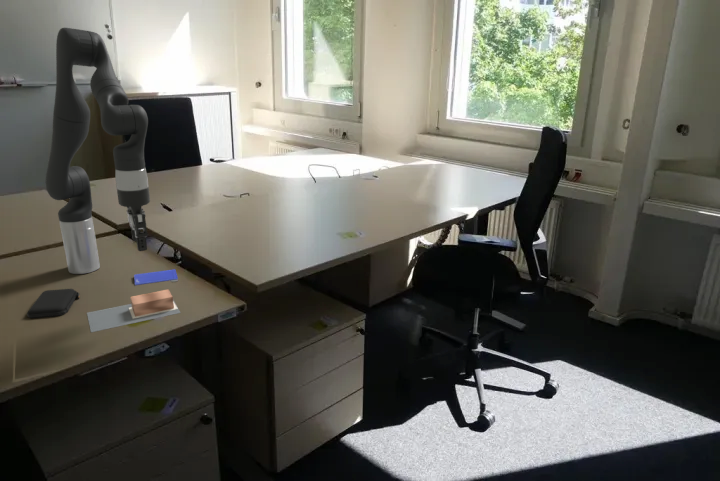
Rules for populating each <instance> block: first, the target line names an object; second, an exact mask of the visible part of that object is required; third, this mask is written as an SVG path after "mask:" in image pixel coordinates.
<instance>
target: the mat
mask: <svg viewBox="0 0 720 481" xmlns="http://www.w3.org/2000/svg"><path fill="white" fill-rule="evenodd" d="M173 304H174V308H173V309H169V310H164V311H159V312H155V313H150V314H145V315H140V316H136V317H135V315H134V312H133V309H132V304H131V303H130V304H124V305H119V306H114V307H110V308H105V309H104V308H103V309H100V310H99V309H98V310H94V311H88V312H86V315H87V319H88V324H89V329H90V333H96V332H100V331H105V330H109V329H113V328H118V327H122V326H127V325H130V324H131V325H132V324H135V323H136V324H137V323H140V322H145V321H150V320H155V319H159V318H163V317H167V316H169V317H170V316H173V315H178V314H181V313H182V312H181V311H180V309H179V307H178V305H177V303H176V301H175V299H173Z"/></svg>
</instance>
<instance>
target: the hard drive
mask: <svg viewBox="0 0 720 481" xmlns="http://www.w3.org/2000/svg"><path fill="white" fill-rule="evenodd" d="M133 278H134V286H140V285H149V284H154V283H160V282H169V281H170V283H174V282H178V281H179V278H178V274H177V271H176V269H175V268H174V269H168V270H159V271H152V272H144V273H136V274H133Z"/></svg>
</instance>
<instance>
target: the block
mask: <svg viewBox="0 0 720 481" xmlns="http://www.w3.org/2000/svg"><path fill="white" fill-rule="evenodd" d="M173 300H174V296H173V295H172V293H171V291H170V289H162V290H158V291H153V292H149V293H143V294H138V295H133V296H130V304H132V309H133V312H134V315H135V317H136V316H140V315H145V314H150V313H155V312H159V311H164V310H169V309H173V308H174V304H173Z"/></svg>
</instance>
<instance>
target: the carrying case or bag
mask: <svg viewBox="0 0 720 481" xmlns="http://www.w3.org/2000/svg"><path fill="white" fill-rule="evenodd" d="M78 299H80V293H79V292H78V291H76V290H75V289H73V288H60V289H48V290H44V291H42V292H41V294H40V295H39V296H38V298H37V299H36V300H35V301H34V303H33V304H32V305H31V307H30V308H29V310H28V311H27V313H26V315H27V318H30V319H41V318H50V317H60V316H63V315H66V314H67V313H68V312H69V311H70V309H71V307H72V306H73V304H74V302H75V300H78Z"/></svg>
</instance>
